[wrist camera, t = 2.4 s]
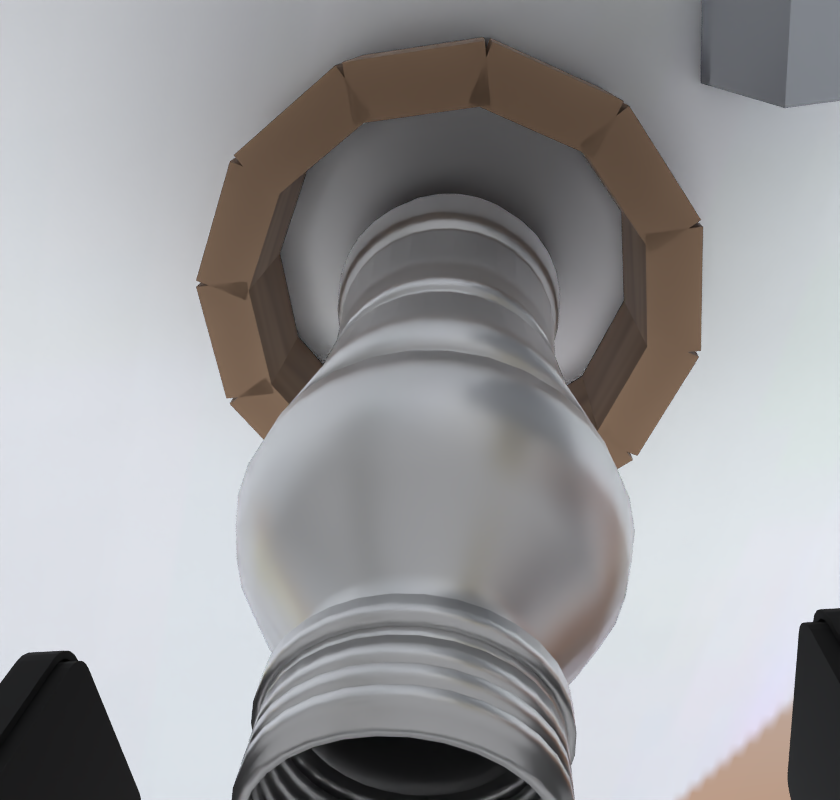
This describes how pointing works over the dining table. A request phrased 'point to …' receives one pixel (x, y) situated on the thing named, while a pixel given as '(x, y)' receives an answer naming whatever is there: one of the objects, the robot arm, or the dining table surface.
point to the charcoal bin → (773, 49)
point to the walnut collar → (437, 92)
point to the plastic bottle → (431, 530)
